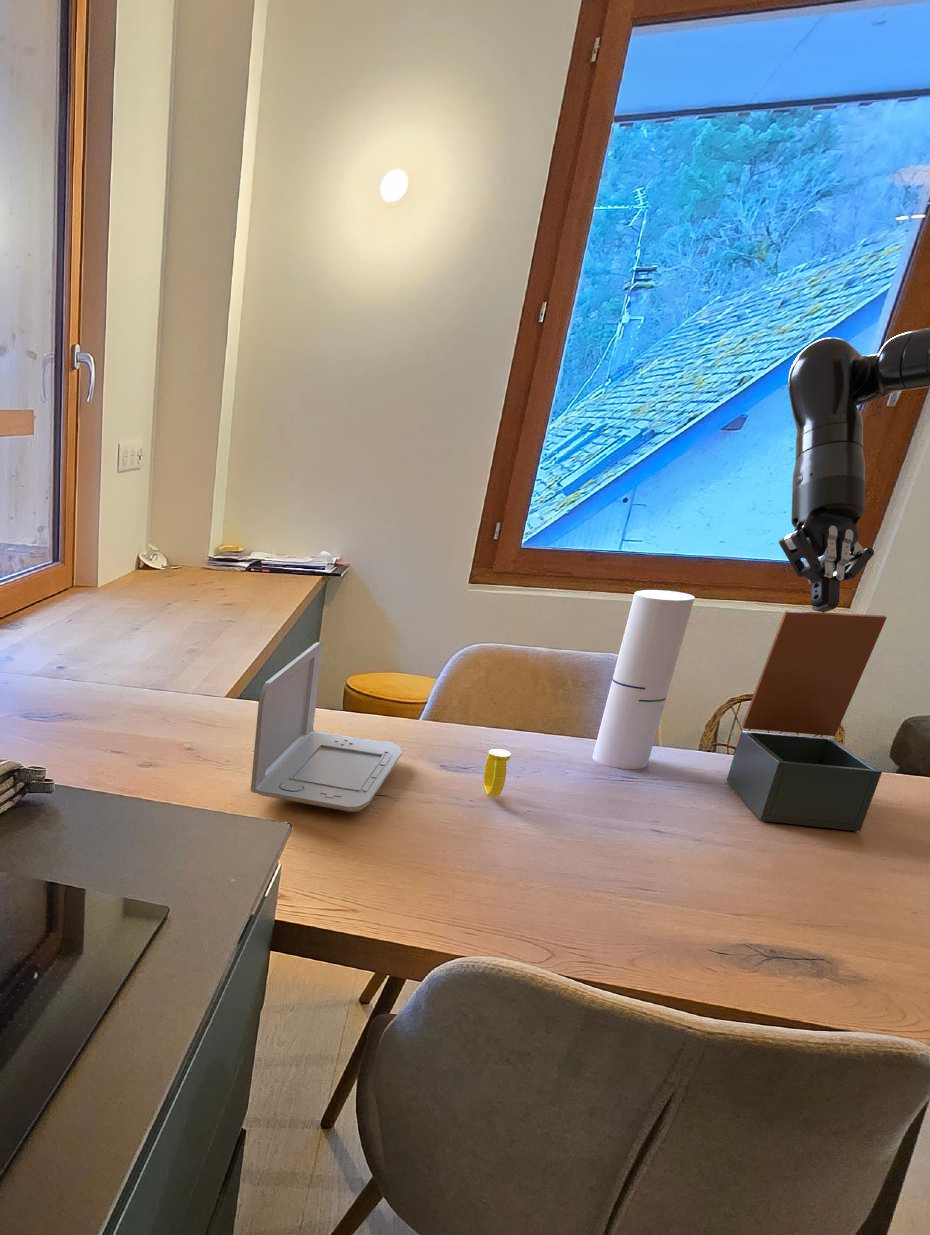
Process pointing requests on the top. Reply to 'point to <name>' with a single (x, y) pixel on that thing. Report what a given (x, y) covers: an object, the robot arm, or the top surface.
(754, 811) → the lidded box
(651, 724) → the cylindrical container
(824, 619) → the panel
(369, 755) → the game console
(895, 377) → the robot arm
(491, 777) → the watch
